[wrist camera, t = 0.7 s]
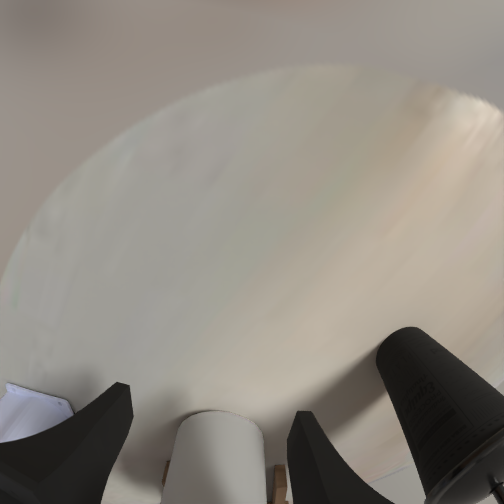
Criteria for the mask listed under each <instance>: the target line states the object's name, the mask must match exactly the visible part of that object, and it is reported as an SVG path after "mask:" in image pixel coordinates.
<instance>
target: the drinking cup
mask: <svg viewBox="0 0 504 504" xmlns="http://www.w3.org/2000/svg"><path fill="white" fill-rule="evenodd" d="M376 364H377V368H378V370H379V372H380V375H381V377H382V380H383V382H384V384H385V387H386V389H387V392H388V394H389V396H390V399H391V401H392V404H393V406H394V409H395V411H396V414H397V417H398V419H399V422H400V424H401V427H402V429H403V432H404V435H405V437H406V440H407V443H408V446H409V448H410V451H411V454H412V457H413V459H414V462H415V465H416V468H417V471H418V474H419V477H420V480H421V483H422V486H423V488H424V492H425V495H426V499H425V501H424V504H476V503H478V502H480V501H482V500H483V499H485V498H487V497H488V496H490V495H491V494H493V495H494V497H495V498H496V500H497V502H498V504H504V486H503V485H504V396H503V395H502V394H501V393H500V392H498V391H497V390H496V389H495V388H494V387H492V386H491V385H490V384H489V383H488V382H486V381H485V380H484V379H483V378H482V377H480V376H479V375H478V374H477V373H475V372H474V371H473V370H472V369H471V368H469V367H468V366H467V365H466V364H464V363H463V362H462V361H461V360H459V359H458V358H457V357H456V356H454V355H453V354H452V353H451V352H449V351H448V350H447V349H445V348H444V347H443V346H442V345H440V344H439V343H438V342H437V341H435V340H434V339H433V338H431V337H430V336H429V335H428V334H426V333H425V332H424V331H422V330H421V329H419V328H417V327H405V328H402V329H400V330H397V331H396V332H394V333H393V334H391V335H390V336H389V337H388V338H387V339H386V340H385V341H384V342H383V344H382V345H381V347H380V348H379V351H378V353H377V358H376Z"/></svg>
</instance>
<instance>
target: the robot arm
mask: <svg viewBox="0 0 504 504" xmlns="http://www.w3.org/2000/svg"><path fill="white" fill-rule="evenodd" d="M5 386H6V388H7V390H8V391H7V392H6V394H5V395H4V396H3V397H2V398H1V399H0V504H101V500H102V496H103V493H104V489H105V486H106V483H107V480H108V477H109V474H110V472H111V469H112V467H113V465H114V463H115V461H116V459H117V457H118V455H119V452H120V450H121V448H122V446H123V444H124V442H125V440H126V438H127V435H128V433H129V430H130V427H131V423H132V420H133V417H134V415H133V408H132V401H131V393H130V385H126V384H123V383H119V382H116V383H115V384H113V385H112V386H111V387H110V388H109V389H107V390H106V391H105V392H104V393H102V394H101V395H100V396H99V397H97V398H96V399H95V400H94V401H92V402H91V403H90V404H88V405H87V406H86V407H84V408H83V409H82V410H80V411H79V412H77V413H76V414H74V413H73V411H72V409H71V406H70V404H69V402H68V401H67V400H65V399H61V398H57V397H53V396H50V395H46V394H43V393H39V392H36V391H32V390H29V389H26V388H23V387H19V386H16V385H13V384H10V383H6V384H5ZM287 461H288V468H289V475H290V482H291V489H292V496H293V504H394V503H393V502H391V501H389V500H388V499H386V498H385V497H383V496H382V495H381V494H379V493H378V492H377V491H375V490H374V489H373V488H372V487H370V486H369V485H368V484H367V483H365V482H364V481H363V480H362V479H361V478H360V477H359V476H358V475H357V474H356V473H355V472H354V471H353V470H352V469H351V468H350V467H349V466H348V464H347V463H346V462H345V461H344V460H343V458H342V457H341V456H340V455H339V453H338V452H337V451H336V449H335V448H334V446H333V445H332V444H331V442H330V441H329V439H328V438H327V436H326V435H325V433H324V431H323V430H322V428H321V427H320V425H319V423H318V422H317V420H316V418H315V416H314V414H313V413H312V412H311V411H297V413H296V416H295V419H294V422H293V425H292V428H291V430H290V433H289V436H288V439H287Z"/></svg>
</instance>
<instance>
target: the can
mask: <svg viewBox="0 0 504 504" xmlns="http://www.w3.org/2000/svg"><path fill="white" fill-rule="evenodd" d="M160 504H267V498H266V477H265V456H264V439H263V434H262V431H261V430H260V429H259V428H258V426H257V425H256V424H255V423H253V422H252V421H250V420H248V419H247V418H245V417H242V416H240V415H237V414H234V413H231V412H225V411H208V412H202V413H198V414H195V415H191V416H190V417H188V418H187V419H186V420H184V421H183V422H182V424H181V425H180V427H179V429H178V432H177V436H176V440H175V444H174V448H173V453H172V457H171V461H170V465H169V469H168V473H167V477H166V482H165V486H164V490H163V494H162V499H161V503H160Z"/></svg>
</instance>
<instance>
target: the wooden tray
mask: <svg viewBox="0 0 504 504" xmlns="http://www.w3.org/2000/svg"><path fill="white" fill-rule="evenodd" d="M169 465H170V461H167V463H166V467H165V471H164V475H163V479H162V484H163V486H165V482H166V477H167V473H168V469H169ZM286 492H287V479H286V470H285V465H275V471H274V483H273V493H272V502H267V504H288V501H285V498H286Z"/></svg>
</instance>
